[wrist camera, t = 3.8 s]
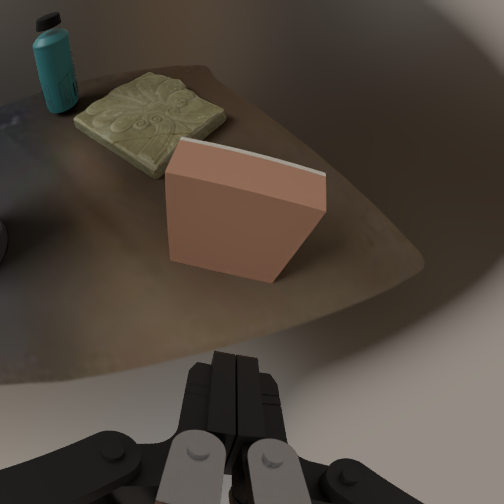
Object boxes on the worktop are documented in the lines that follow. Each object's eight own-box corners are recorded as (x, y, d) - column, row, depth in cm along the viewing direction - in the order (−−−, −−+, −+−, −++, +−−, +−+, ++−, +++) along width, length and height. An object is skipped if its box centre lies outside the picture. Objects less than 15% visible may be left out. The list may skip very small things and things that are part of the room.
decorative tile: (155, 184, 38) (154, 166, 35) (74, 130, 39) (70, 114, 36) (233, 120, 47) (236, 104, 43) (151, 81, 48) (151, 66, 45)
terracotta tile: (271, 283, 34) (326, 211, 21) (170, 260, 33) (164, 172, 20) (275, 253, 36) (325, 173, 23) (178, 230, 35) (181, 136, 22)
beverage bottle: (82, 111, 41) (69, 12, 23) (49, 125, 38) (26, 27, 21) (78, 95, 43) (67, 4, 25) (47, 107, 40) (29, 18, 23)
